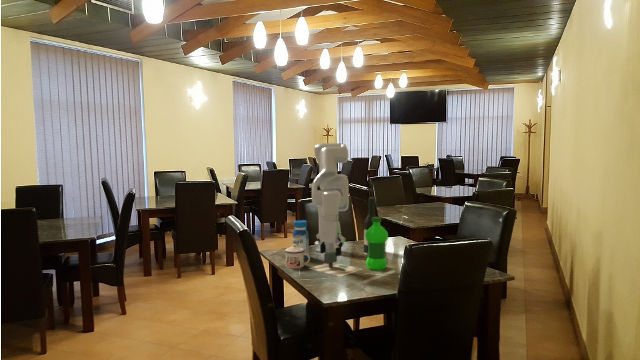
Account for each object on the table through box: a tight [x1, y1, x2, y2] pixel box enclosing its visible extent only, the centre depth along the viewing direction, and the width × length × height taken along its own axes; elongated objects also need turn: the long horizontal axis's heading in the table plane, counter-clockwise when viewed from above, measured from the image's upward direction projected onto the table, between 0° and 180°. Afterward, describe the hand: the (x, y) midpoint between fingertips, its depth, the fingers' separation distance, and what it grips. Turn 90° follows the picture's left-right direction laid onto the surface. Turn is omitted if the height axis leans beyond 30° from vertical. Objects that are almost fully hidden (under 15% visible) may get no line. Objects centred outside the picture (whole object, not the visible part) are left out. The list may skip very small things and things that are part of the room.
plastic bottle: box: [365, 216, 389, 271], centre depth 214 cm, size 10×10×25 cm
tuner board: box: [307, 262, 363, 277], centre depth 214 cm, size 20×16×1 cm
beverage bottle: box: [291, 219, 310, 260], centre depth 236 cm, size 8×8×20 cm
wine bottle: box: [363, 196, 377, 254], centre depth 252 cm, size 8×8×30 cm
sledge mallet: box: [323, 252, 345, 270], centre depth 214 cm, size 10×6×7 cm, turn 47°
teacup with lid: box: [284, 243, 311, 269], centre depth 220 cm, size 12×9×12 cm
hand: (330, 254), depth 215 cm, fingers open, 9 cm apart
